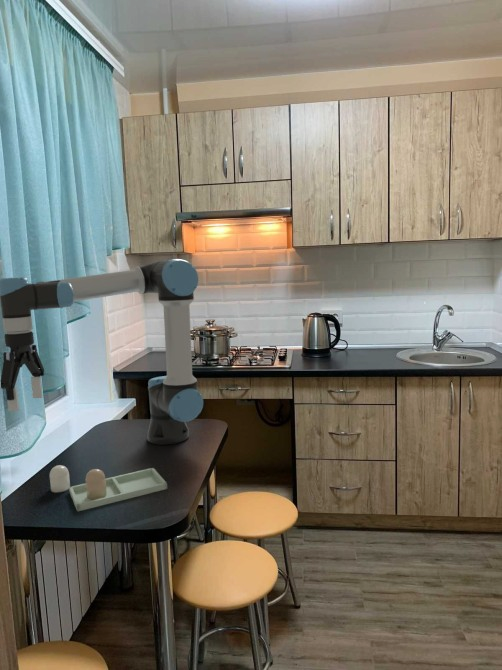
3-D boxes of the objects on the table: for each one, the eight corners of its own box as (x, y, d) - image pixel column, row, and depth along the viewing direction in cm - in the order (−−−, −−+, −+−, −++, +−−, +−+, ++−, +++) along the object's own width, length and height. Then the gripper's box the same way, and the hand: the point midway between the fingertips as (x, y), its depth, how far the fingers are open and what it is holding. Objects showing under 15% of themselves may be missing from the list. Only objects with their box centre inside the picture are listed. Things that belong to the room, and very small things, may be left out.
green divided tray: (153, 475, 156) (153, 467, 156) (167, 491, 145) (167, 483, 144) (69, 495, 145) (69, 487, 145) (77, 514, 134) (76, 505, 133)
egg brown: (104, 489, 146) (102, 464, 145) (108, 497, 141) (106, 470, 140) (85, 494, 143) (83, 468, 142) (89, 501, 139) (86, 475, 138)
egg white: (69, 485, 152) (66, 461, 151) (71, 492, 147) (69, 466, 146) (50, 489, 149) (47, 464, 148) (52, 496, 145) (49, 471, 144)
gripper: (28, 326, 160) (35, 393, 163) (-21, 338, 135) (-11, 417, 138) (51, 325, 159) (58, 392, 162) (7, 338, 134) (15, 416, 137)
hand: (26, 404), depth 150 cm, fingers open, 13 cm apart
